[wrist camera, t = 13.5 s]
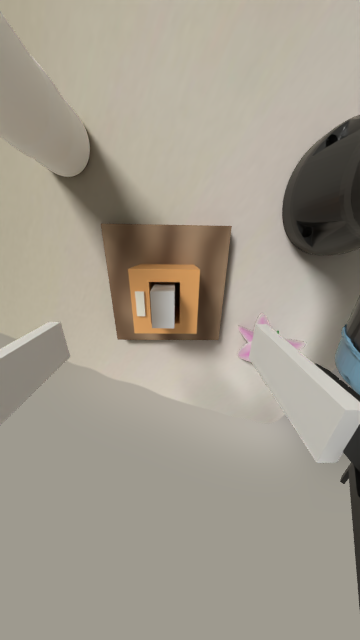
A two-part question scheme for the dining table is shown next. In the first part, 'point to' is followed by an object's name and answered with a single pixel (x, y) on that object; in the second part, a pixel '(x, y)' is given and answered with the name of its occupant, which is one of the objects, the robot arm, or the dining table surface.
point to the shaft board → (168, 253)
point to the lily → (248, 336)
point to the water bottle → (37, 111)
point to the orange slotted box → (187, 311)
